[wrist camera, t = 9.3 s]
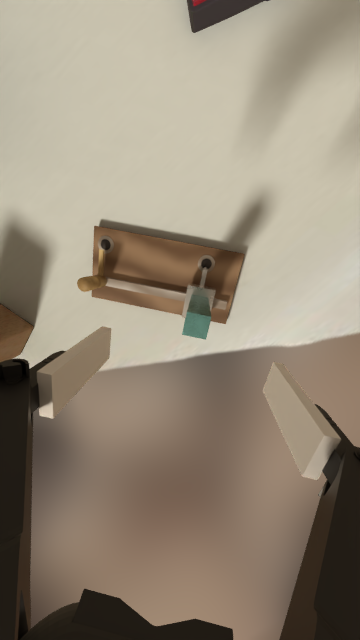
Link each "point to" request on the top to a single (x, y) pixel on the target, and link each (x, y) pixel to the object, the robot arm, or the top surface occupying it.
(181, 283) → the hole plate
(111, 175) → the top surface
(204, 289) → the sliding lever
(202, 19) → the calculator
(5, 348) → the wooden block
